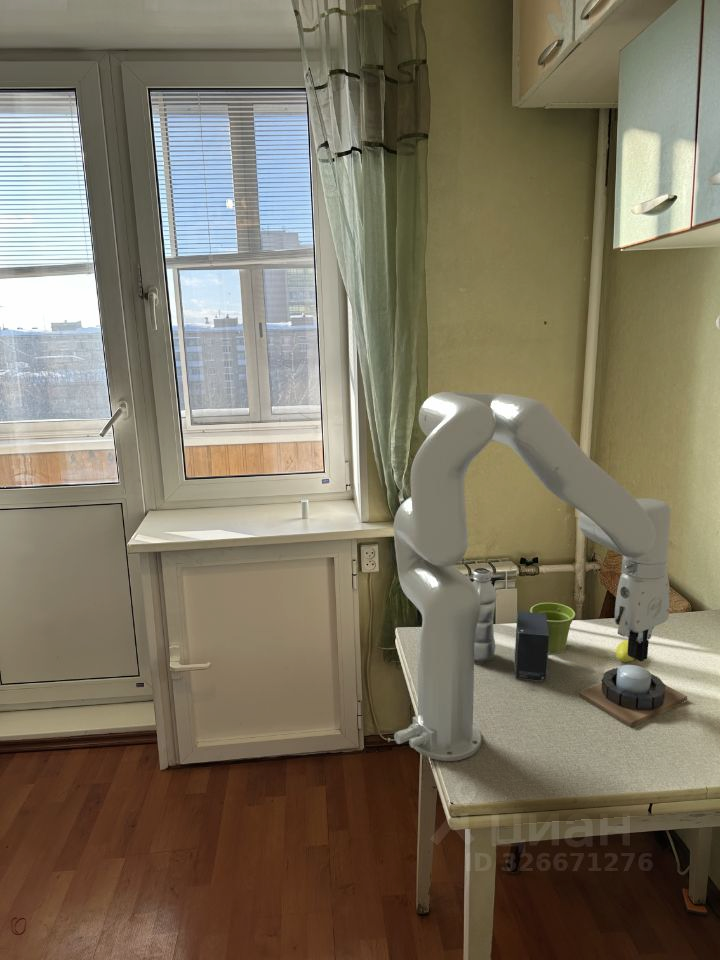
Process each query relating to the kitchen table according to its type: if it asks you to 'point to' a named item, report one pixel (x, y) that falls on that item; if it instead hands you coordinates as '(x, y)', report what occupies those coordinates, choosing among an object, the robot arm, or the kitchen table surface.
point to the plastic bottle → (484, 615)
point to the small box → (531, 646)
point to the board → (625, 714)
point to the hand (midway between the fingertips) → (637, 657)
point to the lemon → (623, 652)
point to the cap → (633, 679)
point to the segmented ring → (632, 699)
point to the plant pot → (556, 624)
